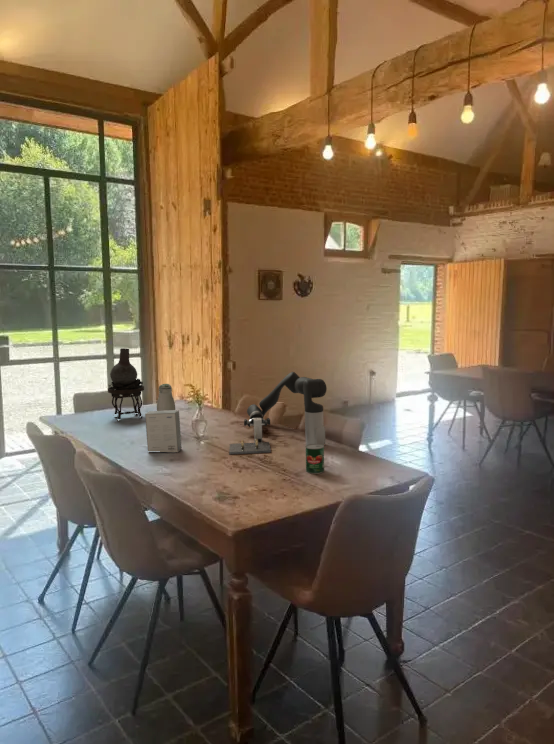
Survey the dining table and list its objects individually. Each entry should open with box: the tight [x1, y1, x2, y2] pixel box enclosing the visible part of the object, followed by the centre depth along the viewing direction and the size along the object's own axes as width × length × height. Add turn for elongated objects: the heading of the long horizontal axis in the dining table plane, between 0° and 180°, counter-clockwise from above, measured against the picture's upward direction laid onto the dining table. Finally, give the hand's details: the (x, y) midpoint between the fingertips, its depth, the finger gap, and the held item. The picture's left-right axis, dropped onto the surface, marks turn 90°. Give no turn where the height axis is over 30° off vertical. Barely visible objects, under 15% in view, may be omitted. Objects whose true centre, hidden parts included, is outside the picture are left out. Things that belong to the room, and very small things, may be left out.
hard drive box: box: [144, 409, 182, 453], centre depth 284 cm, size 16×8×20 cm, turn 84°
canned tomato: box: [305, 444, 325, 475], centre depth 244 cm, size 8×8×11 cm
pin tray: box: [228, 439, 272, 455], centre depth 283 cm, size 16×20×4 cm
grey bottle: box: [156, 383, 176, 411], centre depth 323 cm, size 10×10×28 cm
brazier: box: [107, 348, 145, 419], centre depth 368 cm, size 22×22×45 cm
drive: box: [253, 418, 263, 442], centre depth 297 cm, size 6×4×12 cm, turn 4°
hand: (257, 424), depth 306 cm, fingers open, 8 cm apart
